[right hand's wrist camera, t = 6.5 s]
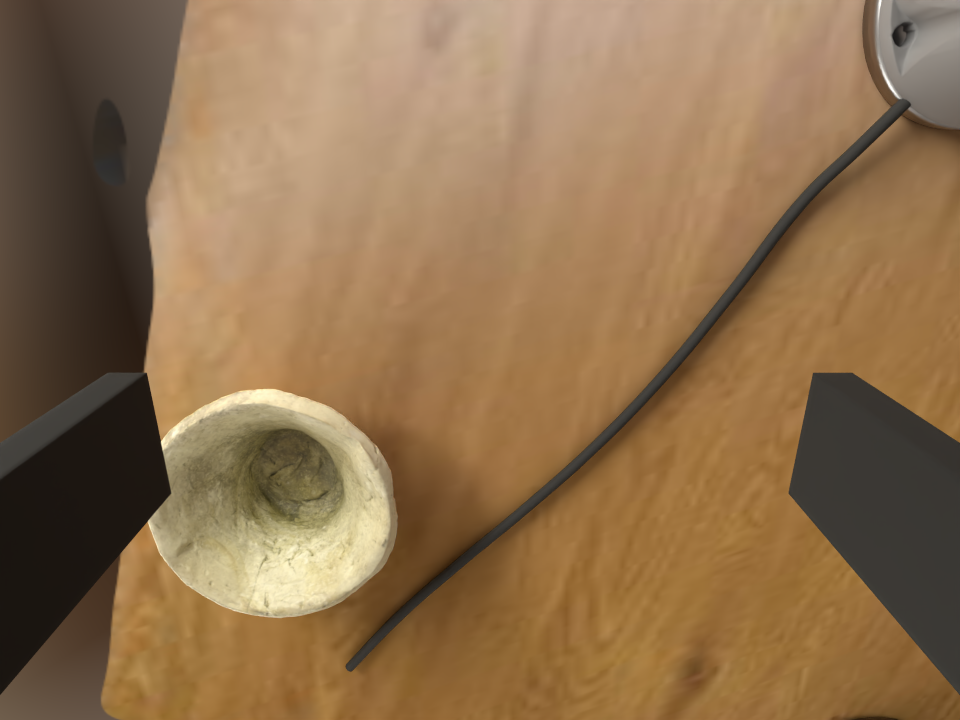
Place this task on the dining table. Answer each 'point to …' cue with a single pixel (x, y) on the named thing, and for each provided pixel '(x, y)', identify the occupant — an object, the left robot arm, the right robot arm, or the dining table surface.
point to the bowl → (274, 504)
